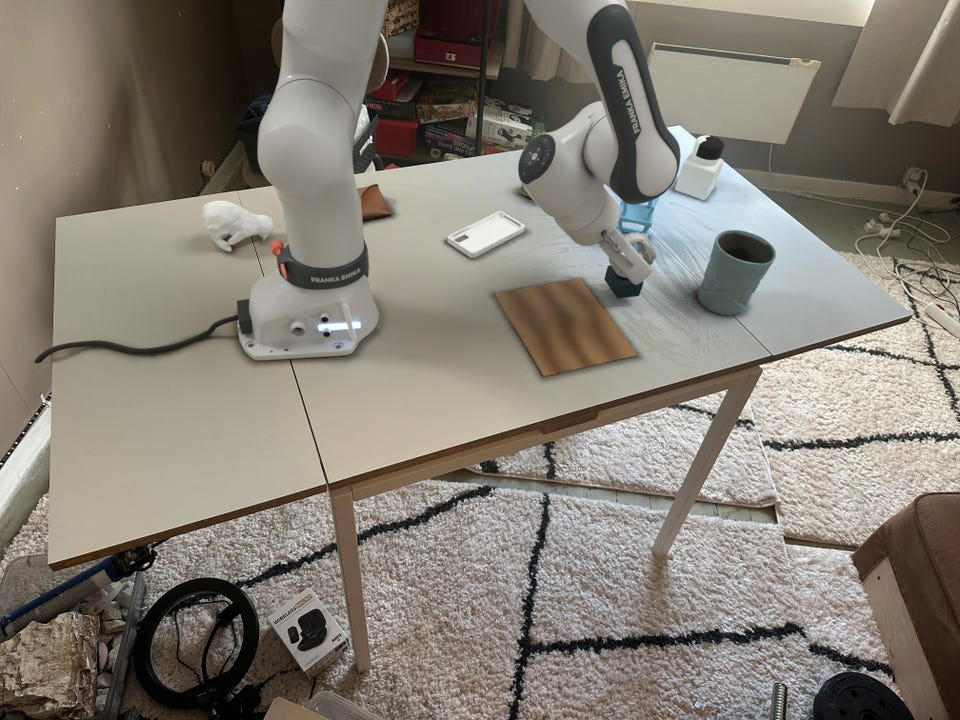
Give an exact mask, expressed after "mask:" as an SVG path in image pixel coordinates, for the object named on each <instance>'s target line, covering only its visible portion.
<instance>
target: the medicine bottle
mask: <svg viewBox="0 0 960 720" xmlns="http://www.w3.org/2000/svg"><path fill="white" fill-rule="evenodd" d="M724 148H725V143H724V141H723V140H722V139H721V138H718V137H716V136H714V135H709V134H708V135H707V134H706V135H700V136H698V137H697V138H696V139H695V142H694V145H693V149H692V151H691V153H690V154H689V155H688V156H687V157H686V158H685V160H684V161H683V162H682V165H681V168H680V171H679V175H678V178H677V181H676V183H675V187H674V190H675V192H679V193H681V194H684V195H687V196H690V197H693V198H696V199H698V200H702V201H705V200H706V199H707V198H708V196H709V195H710V194H711V192H712V191H713V190H714V188H715V186H716V185H717V181H718V178H719V176H720V173H721V170H722V167H723V164H724V161H725V160H724V159H723V158H721V156H722V155H723V154H722V153H723V151H724Z"/></svg>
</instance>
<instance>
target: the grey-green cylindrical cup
mask: <svg viewBox="0 0 960 720" xmlns="http://www.w3.org/2000/svg"><path fill="white" fill-rule="evenodd" d="M776 258H777V251H776V249H775V248H774V246H773V244H772V243H770V242H769V241H768V240H767V239H766V238H764V237H762V236H760V235H757V234H755V233H752V232H749V231H745V230H740V229H728V230H724V231H721V232H720V233H718V234H717V235H716V237H715V239H714V242H713V246H712V249H711V252H710V255H709V259H708V260H709V261H708V263H707V265H706V268H705V270H704V271H705V272H704V275H703V279H702V281H701V283H700V287H699V290H698V293H697V298H698V301H699V302H700V304H701V305H702V306H703V307H704V308H706V310H708V311H710V312H712V313H715V314H718V315H722V316H736V315H739V314H740V313H742V312H743V311H744V310H745V309H746V307H747V305H748V304H749V302H750V300H751V298H752V295H753V294H754V293H755V292H756V290H757V288H758V287H759V285H760V284H761V281H762V280H763V279H764V277H765V276H766V274H767V273H768V270H769V269H770V268H771V266H772V265H773V263H774V261H775V260H776Z"/></svg>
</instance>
